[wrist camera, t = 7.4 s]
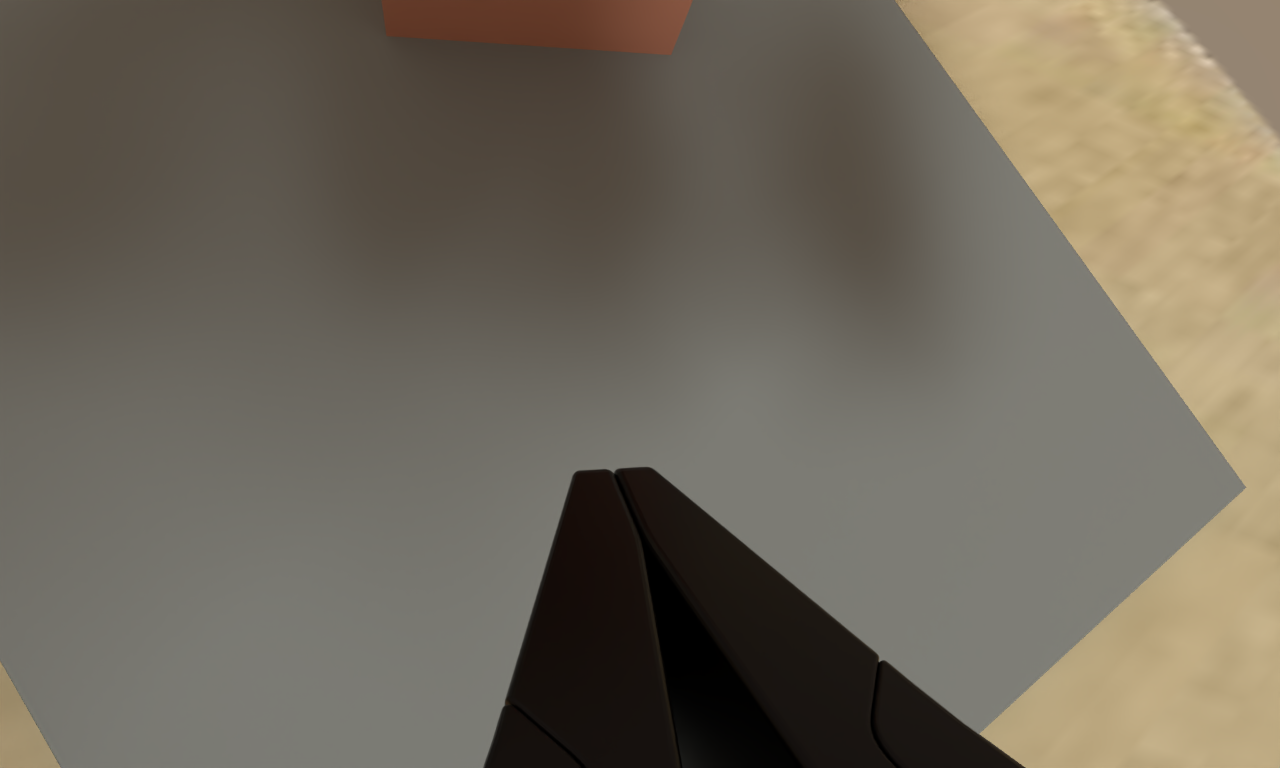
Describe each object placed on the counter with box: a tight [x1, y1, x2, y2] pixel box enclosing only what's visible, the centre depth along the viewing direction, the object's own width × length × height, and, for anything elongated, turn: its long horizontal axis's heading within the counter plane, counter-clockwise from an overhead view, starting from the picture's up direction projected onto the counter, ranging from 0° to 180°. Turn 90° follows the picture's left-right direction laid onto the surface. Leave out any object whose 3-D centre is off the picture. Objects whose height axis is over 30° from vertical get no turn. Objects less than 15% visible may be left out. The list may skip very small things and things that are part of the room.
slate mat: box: [0, 0, 1246, 768], centre depth 17 cm, size 26×22×1 cm
